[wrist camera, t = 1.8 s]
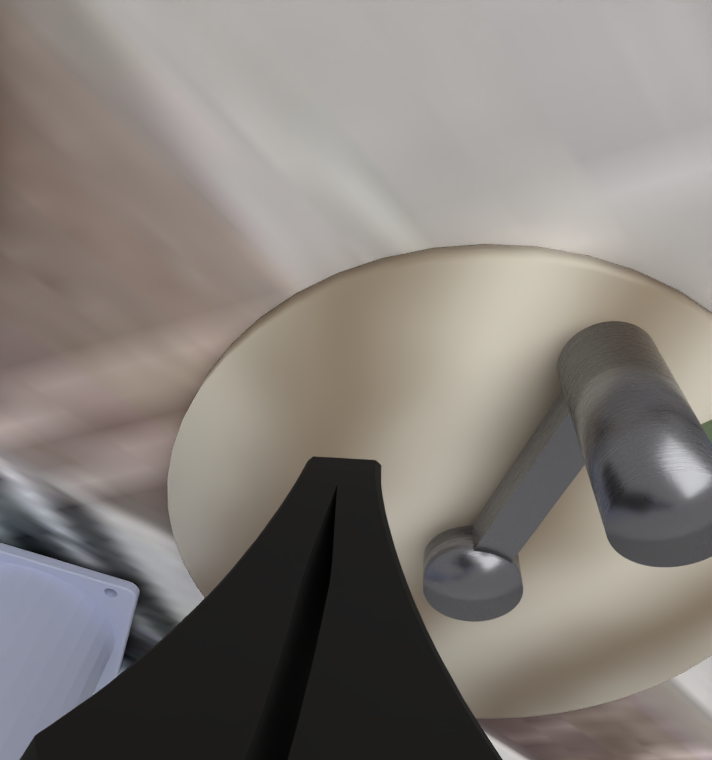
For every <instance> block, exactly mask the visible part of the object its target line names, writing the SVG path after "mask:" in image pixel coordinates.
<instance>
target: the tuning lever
mask: <svg viewBox="0 0 712 760" xmlns="http://www.w3.org/2000/svg"><path fill="white" fill-rule="evenodd" d="M557 369H558V375H559V379H560V382H561V386H562V391H561V392H560V394H559V395H558V397H557V398H556V400H555V402H554V403H553V405H552V406H551V408H550V409H549V411H548V412H547V414H546V415H545V417H544V418H543V420H542V421H541V423H540V424H539V426H538V427H537V429H536V430H535V432H534V433H533V435H532V436H531V438H530V439H529V441H528V442H527V444H526V445H525V447H524V448H523V450H522V451H521V453H520V454H519V456H518V457H517V459H516V460H515V462H514V463H513V465H512V466H511V468H510V469H509V471H508V472H507V474H506V475H505V477H504V478H503V480H502V481H501V483H500V484H499V486H498V487H497V489H496V490H495V492H494V493H493V495H492V496H491V498H490V499H489V501H488V502H487V504H486V505H485V507H484V508H483V510H482V511H481V513H480V514H479V516H478V517H477V519H476V521H475V522H474V524H473V525H472V526H463V527H456V528H452V529H449V530H446V531H444V532H442V533H440V534H438V535H437V536H436V537H434V538H433V539H432V540H431V541H430V542H429V544H428V545H427V547H426V549H425V551H424V557H423V593H424V596H425V598H426V600H427V602H428V603H429V604H430V605H431V606H432V608H434V609H435V610H436V611H438V612H439V613H441V614H443V615H445V616H447V617H450V618H453V619H456V620H461V621H470V622H478V621H487V620H492V619H496V618H498V617H501V616H503V615H505V614H507V613H509V612H510V611H511V610H513V609H514V608H515V607H516V606H517V605H518V603H519V602H520V600H521V598H522V595H523V583H522V576H521V569H520V562H519V555H518V553H519V552H520V550H521V549H522V548H523V546H524V545H525V544H526V542H527V541H528V540H529V538H530V537H531V536H532V534H533V533H534V532H535V530H536V529H537V528H538V526H539V525H540V524H541V522H542V521H543V520H544V518H545V517H546V516H547V514H548V513H549V512H550V510H551V509H552V508H553V506H554V505H555V504H556V502H557V501H558V500H559V498H560V497H561V496H562V494H563V493H564V492H565V490H566V489H567V488H568V486H569V485H570V484H571V482H572V481H573V480H574V478H575V477H576V476H577V474H578V473H579V472H580V470H581V469H582V468H583V466H584V465H585V466H586V469H587V472H588V476H589V479H590V482H591V486H592V489H593V492H594V496H595V499H596V502H597V506H598V509H599V513H600V516H601V519H602V523H603V526H604V529H605V533H606V536H607V539H608V541H609V543H610V545H611V546H612V547H613V549H614V550H615V551H616V552H617V553H619V554H620V555H621V556H623V557H624V558H626V559H628V560H630V561H633V562H635V563H638V564H641V565H645V566H651V567H679V566H685V565H690V564H693V563H697V562H700V561H703V560H705V559H708V558H710V557H712V443H711V441H710V440H709V438H708V436H707V434H706V433H705V431H704V429H703V427H702V426H701V424H700V422H699V420H698V418H697V417H696V415H695V413H694V411H693V410H692V408H691V406H690V404H689V403H688V401H687V399H686V397H685V396H684V394H683V392H682V390H681V389H680V387H679V385H678V383H677V382H676V380H675V378H674V376H673V374H672V373H671V371H670V369H669V367H668V366H667V364H666V362H665V360H664V359H663V357H662V355H661V353H660V352H659V350H658V348H657V346H656V345H655V343H654V341H653V339H652V338H651V336H650V335H649V334H648V333H647V332H646V331H645V330H643V329H642V328H640V327H638V326H636V325H634V324H631V323H628V322H622V321H607V322H601V323H597V324H594V325H591V326H589V327H587V328H585V329H583V330H581V331H580V332H578V333H577V334H575V335H574V336H573V337H572V338H571V339H570V340H569V341H568V342H567V343H566V345H565V346H564V347H563V349H562V351H561V353H560V356H559V359H558V366H557Z"/></svg>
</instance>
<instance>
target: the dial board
mask: <svg viewBox="0 0 712 760" xmlns="http://www.w3.org/2000/svg"><path fill="white" fill-rule="evenodd" d="M607 321H622V322H628V323H631V324H634V325H636V326H638V327H640V328H642V329H643V330H645V331H646V332H647V333H648V334H649V335H650V336H651V338H652V339H653V341H654V343H655V345H656V346H657V348H658V350H659V352H660V353H661V355H662V357H663V359H664V360H665V362H666V364H667V366H668V367H669V369H670V371H671V373H672V374H673V376H674V378H675V380H676V382H677V383H678V385H679V387H680V389H681V390H682V392H683V394H684V396H685V397H686V399H687V401H688V403H689V404H690V406H691V408H692V410H693V411H694V413H695V415H696V417H697V418H698V420H699V422H700V424H701V426H702V427H703V429H704V431H705V433H706V434H707V436H708V438H709V440H710V441H711V443H712V312H710V311H709V310H707V309H706V308H704V307H703V306H701V305H700V304H698V303H697V302H695V301H694V300H692V299H691V298H689V297H688V296H686V295H685V294H683V293H682V292H680V291H679V290H676V289H674V288H672V287H670V286H668V285H666V284H664V283H662V282H659V281H657V280H655V279H653V278H651V277H649V276H647V275H645V274H642V273H640V272H638V271H636V270H633V269H630V268H627V267H623V266H620V265H617V264H614V263H610V262H607V261H604V260H601V259H598V258H594V257H591V256H588V255H582V254H577V253H571V252H565V251H559V250H554V249H548V248H542V247H534V246H514V245H493V244H480V245H467V246H453V247H440V248H431V249H426V250H421V251H416V252H411V253H406V254H401V255H396V256H391V257H386V258H382V259H379V260H376V261H373V262H370V263H367V264H364V265H361V266H358V267H355V268H352V269H349V270H346V271H343V272H340V273H337V274H335V275H333V276H331V277H329V278H327V279H325V280H323V281H321V282H319V283H317V284H315V285H312V286H310V287H308V288H306V289H304V290H302V291H300V292H298V293H296V294H295V295H293V296H292V297H290V298H289V299H287V300H286V301H284V302H283V303H281V304H280V305H278V306H277V307H275V308H274V309H272V310H271V311H269V312H268V313H266V314H265V315H263V316H262V317H261V318H259V319H258V320H257V321H256V322H255V323H254V324H253V325H252V326H251V327H250V328H248V329H247V330H246V331H245V332H244V333H243V334H242V335H241V336H240V337H239V338H237V339H236V340H235V341H234V342H233V343H232V344H231V345H230V347H229V348H228V349H227V350H226V352H225V353H224V354H223V355H222V356H221V358H220V359H219V360H218V361H217V363H216V364H215V365H214V366H213V368H212V369H211V370H210V371H209V373H208V375H207V377H206V378H205V380H204V382H203V384H202V385H201V387H200V389H199V391H198V392H197V394H196V396H195V398H194V400H193V401H192V403H191V405H190V407H189V409H188V411H187V413H186V415H185V417H184V418H183V420H182V423H181V426H180V429H179V432H178V435H177V438H176V440H175V443H174V446H173V449H172V454H171V460H170V466H169V473H168V479H167V488H168V511H169V516H170V521H171V526H172V531H173V536H174V539H175V542H176V544H177V547H178V550H179V552H180V555H181V558H182V560H183V563H184V565H185V566H186V568H187V570H188V572H189V574H190V575H191V577H192V579H193V581H194V582H195V584H196V586H197V588H198V589H199V590H200V592H201V593H202V594H203V596H204V597H205V598H206V597H207V596H208V595H209V594H210V593H211V591H212V590H213V589H214V588H215V587H216V586H217V585H218V584H219V583H220V582H221V581H222V580H223V578H224V577H225V576H226V575H227V574H228V573H229V572H230V571H231V569H232V568H233V567H234V566H235V565H236V563H237V562H238V561H239V560H240V558H241V557H242V556H243V555H244V554H245V552H246V551H247V550H248V549H249V547H250V546H251V545H252V544H253V542H254V541H255V540H256V539H257V537H258V536H259V535H260V533H261V532H262V531H263V529H264V528H265V527H266V525H267V524H268V522H269V521H270V520H271V518H272V517H273V515H274V514H275V513H276V511H277V510H278V508H279V507H280V506H281V504H282V503H283V501H284V500H285V498H286V497H287V495H288V493H289V492H290V490H291V489H292V487H293V486H294V484H295V482H296V481H297V479H298V477H299V476H300V474H301V472H302V470H303V469H304V467H305V465H306V463H307V461H308V460H309V459H310V458H312V457H313V456H316V457H333V458H350V459H368V460H376V461H377V462H379V463H380V464H381V487H382V495H383V501H384V506H385V511H386V516H387V520H388V524H389V528H390V531H391V535H392V538H393V542H394V545H395V549H396V552H397V555H398V558H399V561H400V564H401V567H402V570H403V573H404V575H405V578H406V581H407V584H408V586H409V589H410V591H411V594H412V596H413V599H414V601H415V604H416V606H417V608H418V611H419V613H420V615H421V617H422V620H423V622H424V624H425V626H426V629H427V631H428V633H429V635H430V637H431V639H432V641H433V643H434V645H435V647H436V649H437V651H438V653H439V655H440V657H441V659H442V661H443V662H444V664H445V666H446V668H447V670H448V671H449V673H450V675H451V677H452V679H453V680H454V682H455V684H456V686H457V688H458V689H459V691H460V693H461V695H462V697H463V699H464V700H465V702H466V704H467V705H468V707H469V708H470V710H471V712H472V713H473V715H474V716H475V718H491V719H492V718H515V717H530V716H538V715H547V714H555V713H561V712H567V711H572V710H577V709H582V708H587V707H592V706H595V705H599V704H603V703H606V702H610V701H613V700H617V699H621V698H624V697H627V696H629V695H632V694H635V693H637V692H640V691H643V690H646V689H648V688H651V687H654V686H656V685H658V684H660V683H662V682H664V681H666V680H668V679H671V678H673V677H675V676H677V675H679V674H681V673H683V672H685V671H687V670H688V669H690V668H692V667H693V666H695V665H697V664H698V663H700V662H702V661H703V660H705V659H707V658H708V657H710V656H712V557H710V558H708V559H705V560H703V561H700V562H697V563H693V564H690V565H685V566H679V567H651V566H645V565H641V564H638V563H635V562H633V561H630V560H628V559H626V558H624V557H623V556H621V555H620V554H619V553H617V552H616V551H615V550H614V549H613V547H612V546H611V545H610V543H609V541H608V539H607V536H606V533H605V529H604V526H603V523H602V519H601V516H600V513H599V509H598V506H597V502H596V499H595V496H594V492H593V489H592V486H591V482H590V479H589V476H588V472H587V469H586V466H585V465H584V466H583V468H582V469H581V470H580V472H579V473H578V474H577V476H576V477H575V478H574V480H573V481H572V482H571V484H570V485H569V486H568V488H567V489H566V490H565V492H564V493H563V494H562V496H561V497H560V498H559V500H558V501H557V502H556V504H555V505H554V506H553V508H552V509H551V510H550V512H549V513H548V514H547V516H546V517H545V518H544V520H543V521H542V522H541V524H540V525H539V526H538V528H537V529H536V530H535V532H534V533H533V534H532V536H531V537H530V538H529V540H528V541H527V542H526V544H525V545H524V546H523V548H522V549H521V550H520V552H519V553H518V555H519V562H520V569H521V576H522V583H523V595H522V598H521V600H520V602H519V603H518V605H517V606H516V607H515V608H514V609H513V610H511V611H510V612H509V613H507V614H505V615H503V616H501V617H498V618H496V619H492V620H487V621H478V622H470V621H461V620H456V619H453V618H450V617H447V616H445V615H443V614H441V613H439V612H438V611H436V610H435V609H434V608H432V606H431V605H430V604H429V603H428V602H427V600H426V598H425V596H424V593H423V557H424V551H425V549H426V547H427V545H428V544H429V542H430V541H431V540H432V539H433V538H434V537H436V536H437V535H438V534H440V533H442V532H444V531H446V530H449V529H452V528H456V527H463V526H472V525H473V524H474V522H475V521H476V519H477V517H478V516H479V514H480V513H481V511H482V510H483V508H484V507H485V505H486V504H487V502H488V501H489V499H490V498H491V496H492V495H493V493H494V492H495V490H496V489H497V487H498V486H499V484H500V483H501V481H502V480H503V478H504V477H505V475H506V474H507V472H508V471H509V469H510V468H511V466H512V465H513V463H514V462H515V460H516V459H517V457H518V456H519V454H520V453H521V451H522V450H523V448H524V447H525V445H526V444H527V442H528V441H529V439H530V438H531V436H532V435H533V433H534V432H535V430H536V429H537V427H538V426H539V424H540V423H541V421H542V420H543V418H544V417H545V415H546V414H547V412H548V411H549V409H550V408H551V406H552V405H553V403H554V402H555V400H556V398H557V397H558V395H559V394H560V392H561V391H562V386H561V382H560V379H559V375H558V369H557V366H558V359H559V356H560V353H561V351H562V349H563V347H564V346H565V345H566V343H567V342H568V341H569V340H570V339H571V338H572V337H573V336H574V335H575V334H577V333H578V332H580V331H581V330H583V329H585V328H587V327H589V326H591V325H594V324H597V323H601V322H607Z"/></svg>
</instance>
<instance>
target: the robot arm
mask: <svg viewBox="0 0 712 760" xmlns="http://www.w3.org/2000/svg"><path fill="white" fill-rule="evenodd" d="M138 597H139V589H138V587H137V586H136V585H135V584H134V583H132V582H129V581H126V580H123V579H120V578H116V577H113V576H110V575H106V574H103V573H100V572H96V571H93V570H90V569H86V568H83V567H80V566H76V565H73V564H70V563H67V562H63V561H60V560H57V559H53V558H50V557H47V556H43V555H40V554H37V553H33V552H30V551H27V550H23V549H20V548H17V547H13V546H10V545H7V544H4V543H0V760H503V759H502V758H501V757H500V755H499V754H498V752H497V751H496V749H495V748H494V746H493V745H492V743H491V742H490V740H489V739H488V737H487V736H486V734H485V733H484V731H483V729H482V728H481V726H480V725H479V723H478V721H477V720H476V718H475V716H474V715H473V713H472V712H471V710H470V708H469V707H468V705H467V704H466V702H465V700H464V699H463V697H462V695H461V693H460V691H459V689H458V688H457V686H456V684H455V682H454V680H453V679H452V677H451V675H450V673H449V671H448V670H447V668H446V666H445V664H444V662H443V661H442V659H441V657H440V655H439V653H438V651H437V649H436V647H435V645H434V643H433V641H432V639H431V637H430V635H429V633H428V631H427V629H426V626H425V624H424V622H423V620H422V617H421V615H420V613H419V611H418V608H417V606H416V604H415V601H414V599H413V596H412V594H411V591H410V589H409V586H408V584H407V581H406V578H405V575H404V573H403V570H402V567H401V564H400V561H399V558H398V555H397V552H396V549H395V545H394V542H393V538H392V535H391V531H390V528H389V524H388V520H387V516H386V511H385V506H384V501H383V495H382V487H381V464H380V463H379V462H377V461H376V460H368V459H350V458H333V457H316V456H313V457H312V458H310V459H309V460H308V461H307V463H306V465H305V467H304V469H303V470H302V472H301V474H300V476H299V477H298V479H297V481H296V482H295V484H294V486H293V487H292V489H291V490H290V492H289V493H288V495H287V497H286V498H285V500H284V501H283V503H282V504H281V506H280V507H279V508H278V510H277V511H276V513H275V514H274V515H273V517H272V518H271V520H270V521H269V522H268V524H267V525H266V527H265V528H264V529H263V531H262V532H261V533H260V535H259V536H258V537H257V539H256V540H255V541H254V542H253V544H252V545H251V546H250V547H249V549H248V550H247V551H246V552H245V554H244V555H243V556H242V557H241V558H240V560H239V561H238V562H237V563H236V565H235V566H234V567H233V568H232V569H231V571H230V572H229V573H228V574H227V575H226V576H225V577H224V578H223V580H222V581H221V582H220V583H219V584H218V585H217V586H216V587H215V588H214V589H213V590H212V591H211V593H210V594H209V595H208V596H207V597H206V598H205V599H204V600H203V601H202V602H201V603H200V604H199V605H198V606H197V607H196V608H195V609H194V610H193V611H192V612H191V613H190V614H189V615H188V616H187V617H186V618H184V619H183V620H182V621H181V622H180V623H179V624H178V625H177V626H176V627H175V628H174V629H173V630H172V631H171V632H170V633H169V634H167V635H166V636H165V637H164V638H163V639H162V640H161V641H160V642H159V643H157V644H156V645H155V646H154V647H153V648H152V649H150V650H149V651H148V652H147V653H146V654H144V655H143V656H142V657H141V658H139V659H138V660H137V661H136V662H134V663H133V664H132V665H131V666H129V667H128V668H127V669H126V670H125V671H123V672H122V673H121V674H120V675H119V671H120V667H121V664H122V660H123V656H124V652H125V648H126V644H127V640H128V636H129V632H130V628H131V624H132V620H133V617H134V613H135V609H136V605H137V601H138ZM93 693H95V694H94V695H93Z"/></svg>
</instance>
